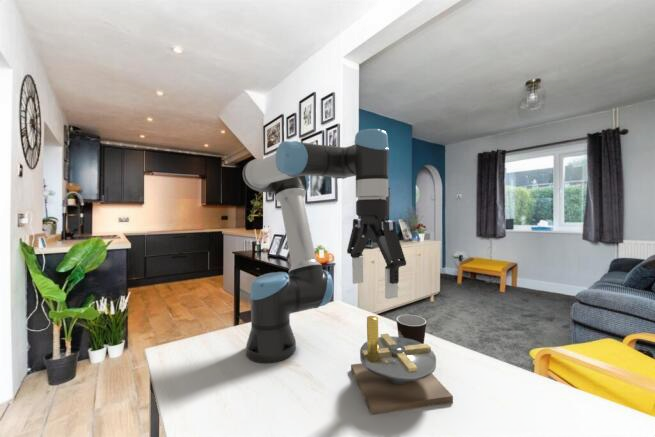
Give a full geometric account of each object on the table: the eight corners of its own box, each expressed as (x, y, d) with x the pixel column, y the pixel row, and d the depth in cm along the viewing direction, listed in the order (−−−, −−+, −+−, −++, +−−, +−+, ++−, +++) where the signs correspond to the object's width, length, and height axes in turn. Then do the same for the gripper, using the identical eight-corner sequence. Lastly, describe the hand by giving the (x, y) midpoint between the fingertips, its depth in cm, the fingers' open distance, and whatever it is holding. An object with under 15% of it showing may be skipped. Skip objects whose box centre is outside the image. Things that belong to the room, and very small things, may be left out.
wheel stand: (351, 369, 77) (350, 348, 77) (416, 362, 81) (416, 341, 80) (371, 414, 61) (371, 386, 60) (452, 402, 64) (452, 376, 64)
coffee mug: (428, 361, 81) (428, 327, 80) (397, 359, 83) (396, 325, 82) (423, 342, 92) (423, 312, 92) (395, 340, 94) (395, 310, 94)
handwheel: (352, 345, 78) (351, 303, 77) (413, 338, 81) (413, 298, 80) (374, 385, 60) (373, 331, 60) (452, 375, 63) (452, 324, 63)
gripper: (424, 196, 57) (424, 302, 57) (357, 200, 79) (358, 276, 80) (393, 196, 53) (394, 309, 54) (333, 200, 76) (334, 279, 77)
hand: (373, 289), depth 67 cm, fingers open, 13 cm apart
